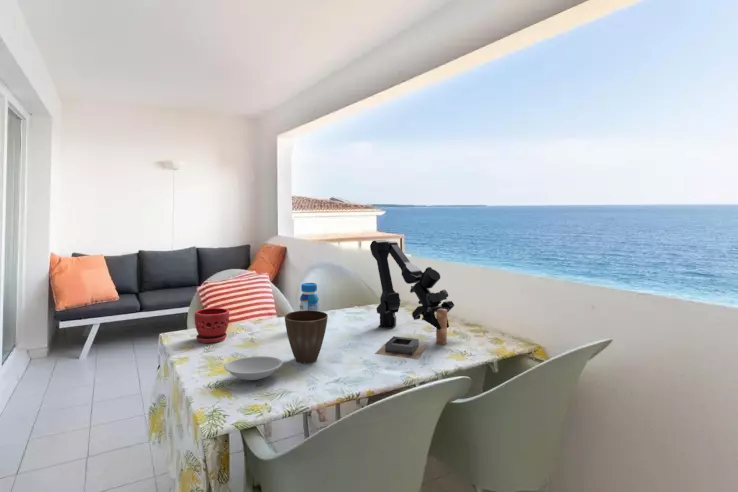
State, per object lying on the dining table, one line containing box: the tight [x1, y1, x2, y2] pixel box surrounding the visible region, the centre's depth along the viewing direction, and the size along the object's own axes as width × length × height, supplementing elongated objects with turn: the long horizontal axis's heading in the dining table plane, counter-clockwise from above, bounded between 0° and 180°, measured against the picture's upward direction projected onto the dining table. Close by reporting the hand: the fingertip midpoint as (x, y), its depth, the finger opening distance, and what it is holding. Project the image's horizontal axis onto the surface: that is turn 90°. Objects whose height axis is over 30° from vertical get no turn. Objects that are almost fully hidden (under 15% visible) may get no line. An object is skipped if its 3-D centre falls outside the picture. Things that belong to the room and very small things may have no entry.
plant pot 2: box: [284, 310, 329, 364], centre depth 149 cm, size 15×15×16 cm
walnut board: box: [374, 343, 429, 360], centre depth 158 cm, size 16×16×1 cm
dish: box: [223, 355, 283, 381], centre depth 133 cm, size 18×14×5 cm
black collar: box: [384, 335, 420, 355], centre depth 158 cm, size 10×10×3 cm
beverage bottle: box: [299, 282, 320, 311], centre depth 188 cm, size 8×8×20 cm
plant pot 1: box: [194, 307, 230, 344], centre depth 173 cm, size 13×13×12 cm
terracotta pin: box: [435, 309, 448, 345], centre depth 166 cm, size 4×4×14 cm
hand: (444, 328), depth 165 cm, fingers closed on terracotta pin, 4 cm apart
